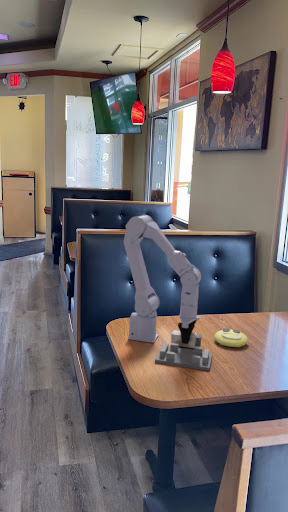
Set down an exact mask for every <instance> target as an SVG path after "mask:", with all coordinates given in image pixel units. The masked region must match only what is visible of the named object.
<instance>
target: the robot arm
mask: <svg viewBox="0 0 288 512" xmlns="http://www.w3.org/2000/svg"><path fill="white" fill-rule="evenodd" d="M144 238H146V239H151V240H153V242H154V243H155V244H156V245H157V246H158V247H159V248H160V249H161V250H162V252H163V253H165V255H166V256H167V263H168V264H169V265H170V267H171V268H172V269H173V270H174V272H175V273H176V274H177V275H178V276H179V278H180V279H179V280H180V284H181V285H182V288H181V294H180V295H181V296H180V297H181V298H180V310H179V311H180V312H179V314H178V315H179V316H178V317H179V320H180V321H181V322H178V323H177V327H178V330H179V331H180V333H181V339H182V343H183V344H188V343H189V340H190V336H191V333H193V330H194V329H195V326H196V324H197V321H199V320H200V319H201V316H200V315H199V316H198V315H197V314H198V305H199V302H198V301H199V289H200V288H199V287H200V284H199V283H200V281H201V279H202V273H201V271H200V269H199V268H198V267H196V266H195V265H194V264H192V263H191V262H190V261H189V259H188V258H187V257H186V256H187V254H186V253H185V252H182V250H176V249H175V248H174V246H173V245H172V243H171V242H170V241H169V239H168V238H167V237H166V235H165V234H164V232H163V231H162V230H161V228H160V227H159V225H158V224H157V222H155V221H154V220H153V218H152V217H151V216H150V215H147V214H142V215H138V216H137V215H136V216H132V217H131V218H130V219H129V220H128V221H127V223H126V224H125V233H124V238H123V245H124V249H125V253H126V257H127V260H128V264H129V268H130V272H131V276H132V279H133V284H134V287H135V293H134V301H135V302H134V311H135V312H132V313H131V314H130V317H129V324H128V325H129V327H128V329H129V330H128V340H131V341H138V342H139V341H140V342H146V343H153V344H154V343H155V342H156V340H157V338H158V336H159V333H157V321H158V312H157V309H158V308H159V307H160V304H161V303H160V301H161V300H160V298H159V296H158V295H157V294H156V292H155V289H154V288H153V287H152V286H151V282H150V279H149V274H148V272H147V267H146V264H145V260H144V256H143V252H142V249H141V245H140V244H141V242H142V241H143V239H144Z"/></svg>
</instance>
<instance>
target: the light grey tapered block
mask: <svg viewBox="0 0 288 512" xmlns="http://www.w3.org/2000/svg"><path fill="white" fill-rule="evenodd" d="M170 335H171V337H170V344H171V343H175V344H179V346H178V347H181V348H188V349H195V346H196V347H202V346H201V345H202V335H203V334H202V333H198V332H197V333H196V332H192V333H191V336H190V340H189V343H188V344H183V343H182V339H181V333H180V330H177V329H174V330H172V332H171V334H170Z"/></svg>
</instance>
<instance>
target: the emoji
mask: <svg viewBox="0 0 288 512" xmlns="http://www.w3.org/2000/svg"><path fill="white" fill-rule="evenodd" d="M213 338H214V340H215V341H216V342H217V343H219V345H220V346H225V347H229V348H241V347H243V346H245V345H247V343H248V342H249V338H248V336H247V335H246V334H245V333H243V332H241V331H240V330H238V329H229V328H222V329H221V330H218V331H216V332H215V333H214V335H213Z"/></svg>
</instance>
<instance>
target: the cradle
mask: <svg viewBox="0 0 288 512" xmlns="http://www.w3.org/2000/svg"><path fill="white" fill-rule="evenodd" d="M169 344H170V346H169ZM212 359H213V352H210V349H208V348H204V351H203V346H200V347H196V346H195V348H193V349H192V348H185V347H180V346H179V344H175V343H171V342H170V343H166V342H163V345H161V347H160V349H159V351H158V353H157V355H156V357H155V359H154V363H156V364H161V365H167V366H168V365H169V366H175V367H182V368H187V369H196V370H201V371H208V372H210V368H211V363H212Z"/></svg>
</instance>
